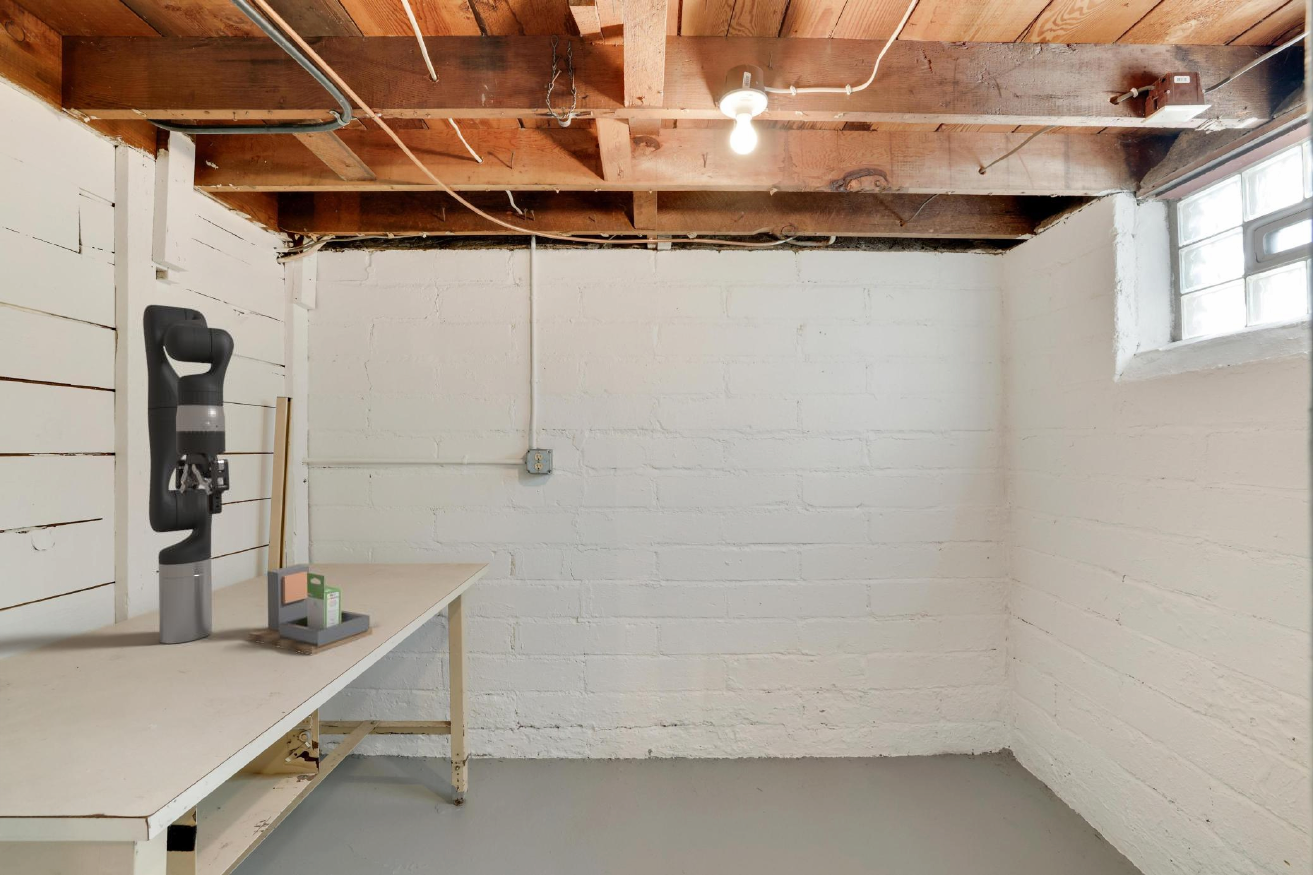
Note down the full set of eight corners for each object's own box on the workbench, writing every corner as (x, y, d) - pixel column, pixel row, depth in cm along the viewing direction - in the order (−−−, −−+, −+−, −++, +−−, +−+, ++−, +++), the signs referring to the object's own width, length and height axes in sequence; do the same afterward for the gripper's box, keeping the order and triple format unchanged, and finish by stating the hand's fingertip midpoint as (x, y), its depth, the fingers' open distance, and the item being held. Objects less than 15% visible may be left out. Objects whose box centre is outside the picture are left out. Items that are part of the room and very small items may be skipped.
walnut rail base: (249, 639, 129) (249, 632, 129) (310, 621, 141) (310, 615, 141) (311, 655, 119) (311, 647, 119) (372, 633, 131) (372, 627, 131)
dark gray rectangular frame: (263, 633, 128) (262, 620, 128) (316, 618, 139) (315, 605, 139) (318, 646, 119) (317, 631, 119) (369, 628, 130) (369, 615, 130)
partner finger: (268, 628, 131) (267, 571, 131) (299, 619, 138) (298, 564, 138) (281, 631, 129) (280, 573, 129) (311, 622, 135) (311, 566, 135)
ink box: (342, 633, 127) (341, 572, 127) (324, 638, 124) (323, 576, 124) (325, 628, 131) (324, 568, 131) (306, 633, 128) (306, 572, 128)
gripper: (243, 429, 113) (244, 512, 113) (203, 430, 119) (204, 509, 119) (198, 428, 106) (200, 517, 106) (158, 430, 113) (160, 513, 113)
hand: (202, 512), depth 113 cm, fingers open, 8 cm apart
